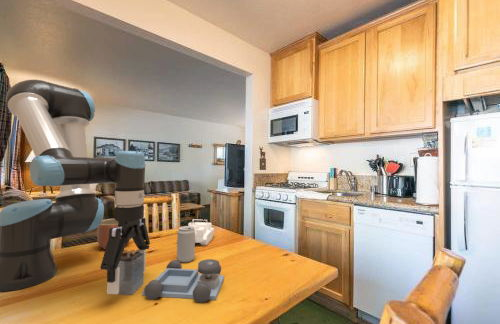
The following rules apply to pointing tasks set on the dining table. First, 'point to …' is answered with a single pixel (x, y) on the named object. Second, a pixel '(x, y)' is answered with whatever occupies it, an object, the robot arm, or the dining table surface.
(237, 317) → the dining table surface
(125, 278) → the twin lamp box
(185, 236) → the beverage can
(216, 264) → the spare wheel
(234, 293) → the dining table surface
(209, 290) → the chassis
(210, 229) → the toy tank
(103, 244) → the planter
